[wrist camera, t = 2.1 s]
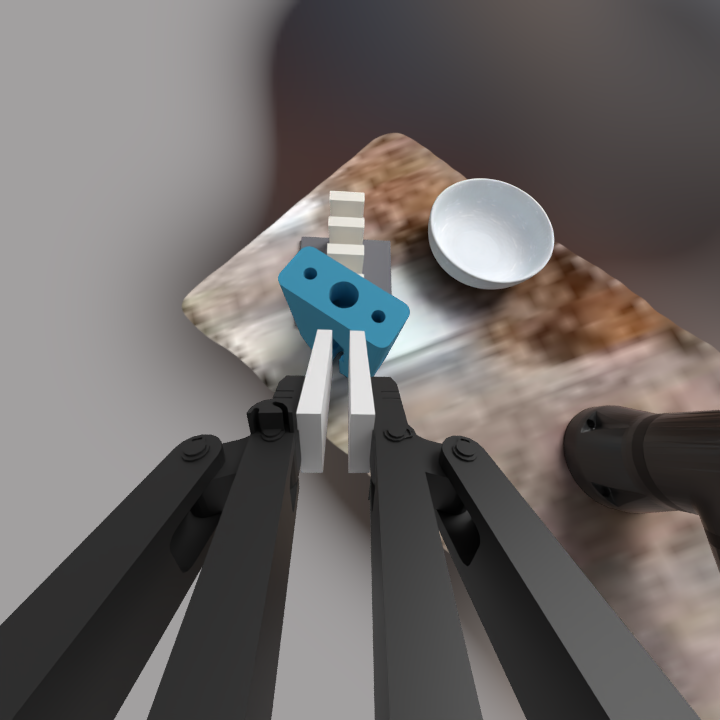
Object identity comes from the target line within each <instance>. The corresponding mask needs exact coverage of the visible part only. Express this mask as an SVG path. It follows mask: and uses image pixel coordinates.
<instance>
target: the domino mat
mask: <svg viewBox="0 0 720 720" xmlns="http://www.w3.org/2000/svg"><path fill="white" fill-rule="evenodd" d="M327 243H330V242H329V238H319V237H302V241H301V249H302V248H304V247H307V246H311V247H314V248H316V249H318V250H319V251H321V252H322V253H324V254H326V255H327ZM362 245H364V260H363V269H362V274H364V278H365V279H366V280H368V281H370V282H371V283H373V284H374V285H376V286H378V287H379V288H381V289H382V290H384V291H386V292H387V293H389V294H391V255H390V241H378V240H363V244H362ZM391 295H392V294H391ZM295 326H297V324H296V322H295Z"/></svg>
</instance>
